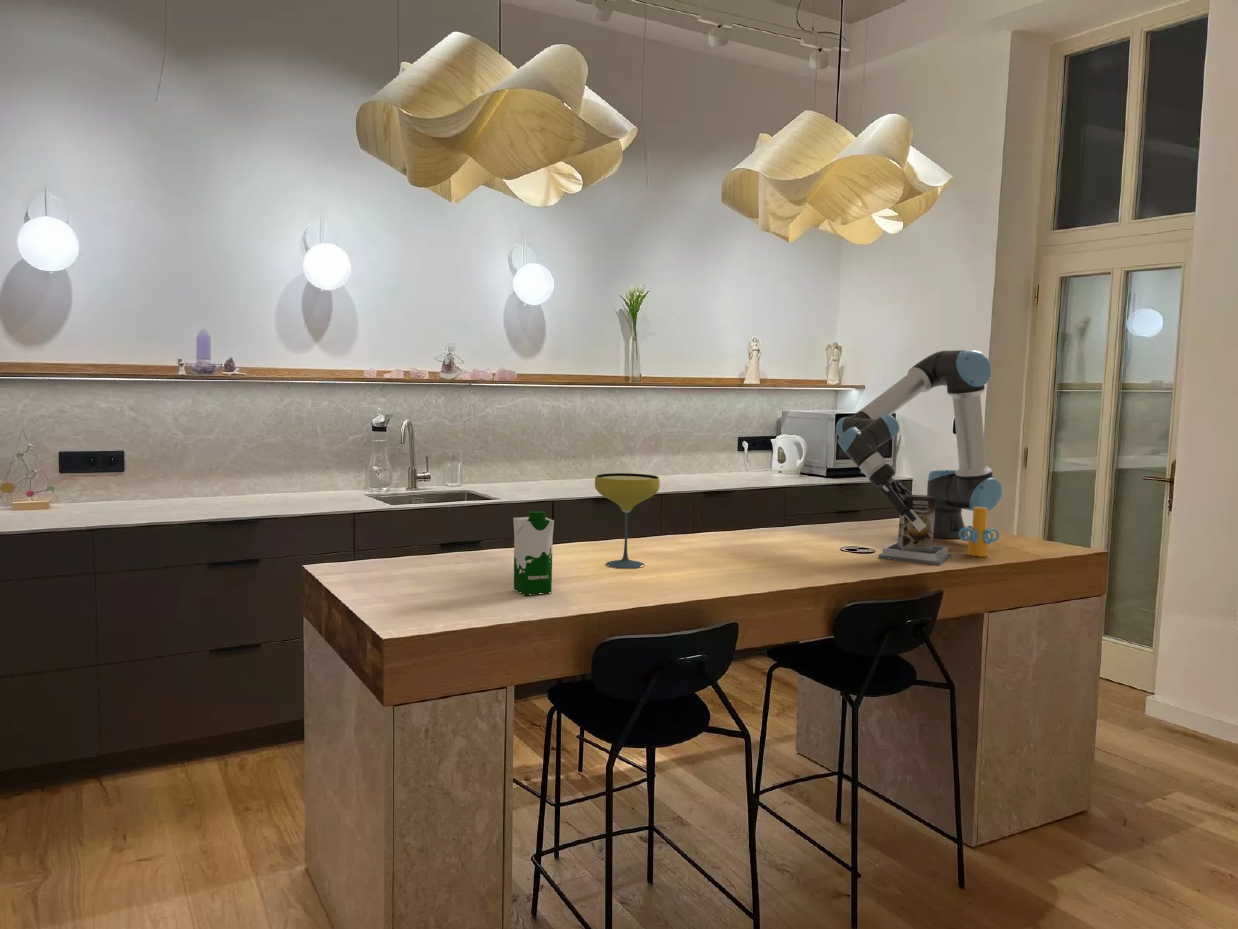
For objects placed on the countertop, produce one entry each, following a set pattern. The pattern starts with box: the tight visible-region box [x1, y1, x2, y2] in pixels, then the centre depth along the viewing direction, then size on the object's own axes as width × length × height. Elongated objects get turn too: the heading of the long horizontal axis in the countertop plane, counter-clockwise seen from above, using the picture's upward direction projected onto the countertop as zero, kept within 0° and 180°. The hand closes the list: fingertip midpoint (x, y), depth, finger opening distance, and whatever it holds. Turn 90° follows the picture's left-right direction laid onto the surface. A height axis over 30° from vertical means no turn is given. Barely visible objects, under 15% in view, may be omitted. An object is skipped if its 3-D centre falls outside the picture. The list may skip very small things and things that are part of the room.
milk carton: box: [512, 510, 555, 596], centre depth 227 cm, size 9×9×20 cm
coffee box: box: [897, 494, 936, 550], centre depth 284 cm, size 9×6×16 cm
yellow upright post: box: [959, 507, 1000, 558], centre depth 290 cm, size 12×10×15 cm
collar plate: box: [877, 541, 952, 566], centre depth 284 cm, size 16×18×3 cm
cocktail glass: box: [594, 472, 661, 569], centre depth 262 cm, size 18×18×25 cm
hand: (927, 526), depth 282 cm, fingers closed on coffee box, 9 cm apart
